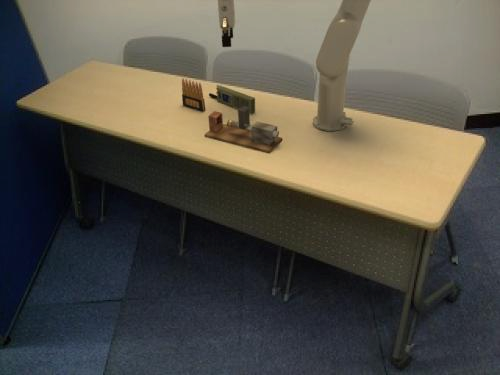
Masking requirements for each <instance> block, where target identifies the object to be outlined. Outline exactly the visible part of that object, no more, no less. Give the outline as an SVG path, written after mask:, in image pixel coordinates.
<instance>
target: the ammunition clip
mask: <svg viewBox="0 0 500 375" xmlns="http://www.w3.org/2000/svg"><path fill="white" fill-rule="evenodd" d="M181 92H182V95H181V97H182V98H181V99H182V107H186V108H188V109H191V110H194V111H197V112H201V113H203V112H205V111H206V104H205V98H204V93H203V88H202V83H201V82H199V83H198V82H197V81H194V80H192V82H191V80H190V79H187V78H185V79H184V78H183V77H182V78H181Z"/></svg>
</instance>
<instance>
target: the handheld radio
mask: <svg viewBox="0 0 500 375" xmlns="http://www.w3.org/2000/svg"><path fill="white" fill-rule="evenodd" d="M215 87H216V94H213V93H211V92H210V93H208V96H209V97H211V98H214V99H217V102H219V103H220V104H224V105H226V106H228V107H231V108H234V109H236V110H239V109H240V108H241V107H243V106H246V107H249V115H254V114H256V97H254V96H251V95H248V94H245V93H242V92H240V91H237V90H234V89H232V88H229V87H226V86H222V85H219V84H216V85H215Z"/></svg>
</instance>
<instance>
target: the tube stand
mask: <svg viewBox="0 0 500 375" xmlns="http://www.w3.org/2000/svg"><path fill="white" fill-rule="evenodd" d="M251 125H252V126H251V130H252V132H250V131H246V130H242V129H238V128H233V127H229V126H227V123H224V121H223V112H221V111H217V110H214V111H213V112H212V113H210V114H209V115H208V126H209V130H208V131H207V132H205V133H204V137H205V138H208V139H212V140H216V141H219V142H223V143H228V144H231V145H234V146H239V147H244V148H247V149H252V150H254V151H259V152H262V153H267V154H271V152H272V151H274V150H275V148H277V146H278V145H279V144H281V142H282V141H283V137H280V136H278V137H277V138H275V137H273V131H274V130H276V131H278V125H274V124H271V123H267V122H261V121H255V122H254V123H253V124H251Z"/></svg>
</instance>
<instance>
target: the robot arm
mask: <svg viewBox="0 0 500 375" xmlns="http://www.w3.org/2000/svg"><path fill="white" fill-rule="evenodd" d="M371 1H372V0H341V3H340V6H339V8H338V10H337V12H336V14H335V16H334V17H333V18H332V20H331V22H330V24H329V26H328V28H327V30H326V33H325V34H324V38H323V41H322V43H321V46H320V48H319V51H318V52H317V53H318V54H317V56H316V59H315V66H316V67H315V68H316V70H317V72H318V73H319V78H318V80H319V82H318V94H317V95H318V96H317V112H316V113H317V114H316V116H314V117H313V119H312V125H313V127H314V128H316V129H318V130H321V131H325V132H337V131H341V130H343V129H345V128H346V126H350V127H353V125H354V121H355V120H353V117H349V116H347V115H346V114H347V112H345V98H346V87H347V79H348V70H349V62H350V55H351V53H352V50H353V48H354V46H355V43H356V41H357V38H358V36H359V34H360V32H361V28H362V24H363V21H364V18H365V16H366V14H367V11H368V9H369V6H370V3H371ZM217 10H218V19H219V28H220V29H221V46H222V48H231V47H232V39H234V32H233V31H234V28H235V25H236V16H235V1H234V0H217Z"/></svg>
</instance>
